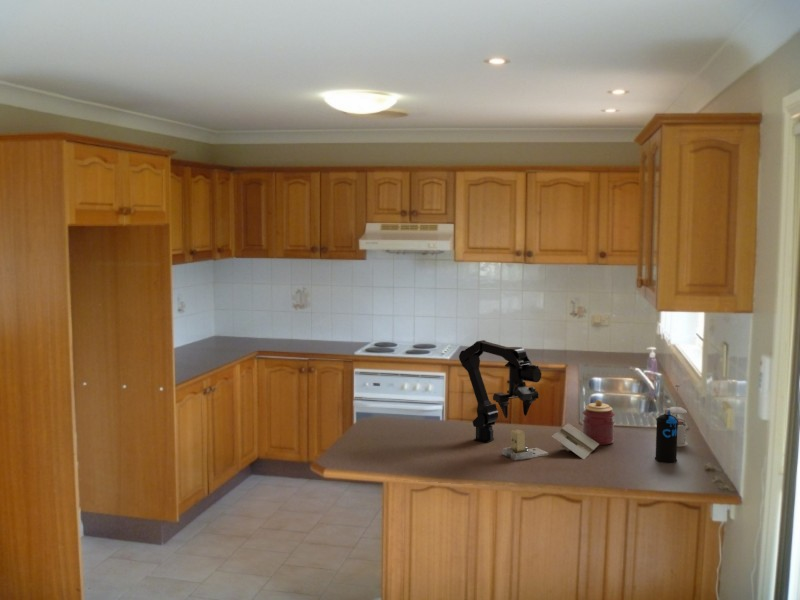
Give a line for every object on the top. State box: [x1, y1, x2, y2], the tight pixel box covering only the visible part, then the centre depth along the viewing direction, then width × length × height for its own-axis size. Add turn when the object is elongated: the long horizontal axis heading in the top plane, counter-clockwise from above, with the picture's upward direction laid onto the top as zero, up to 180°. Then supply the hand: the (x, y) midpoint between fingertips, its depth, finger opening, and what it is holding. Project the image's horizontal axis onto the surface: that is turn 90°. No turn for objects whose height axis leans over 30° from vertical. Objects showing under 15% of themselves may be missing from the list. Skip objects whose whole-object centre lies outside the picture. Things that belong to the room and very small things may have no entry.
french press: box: [667, 383, 688, 447], centre depth 327 cm, size 10×12×25 cm
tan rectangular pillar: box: [510, 429, 526, 453], centre depth 309 cm, size 4×4×10 cm
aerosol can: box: [654, 408, 679, 464], centre depth 304 cm, size 8×8×20 cm
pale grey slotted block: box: [551, 422, 600, 460], centre depth 316 cm, size 16×9×15 cm
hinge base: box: [502, 445, 550, 461], centre depth 311 cm, size 17×9×3 cm, turn 115°
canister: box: [582, 399, 615, 446], centre depth 330 cm, size 13×13×18 cm
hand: (515, 416), depth 319 cm, fingers open, 9 cm apart
